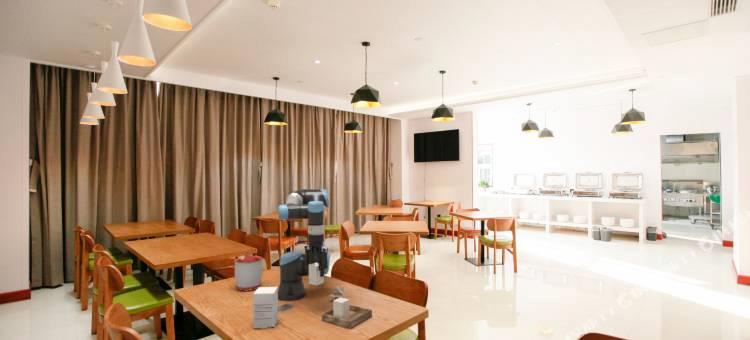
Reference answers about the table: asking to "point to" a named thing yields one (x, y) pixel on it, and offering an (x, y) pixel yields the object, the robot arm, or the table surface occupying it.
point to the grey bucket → (248, 272)
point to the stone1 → (341, 308)
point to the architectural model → (338, 292)
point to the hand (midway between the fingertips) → (316, 282)
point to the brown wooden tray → (355, 315)
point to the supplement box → (265, 307)
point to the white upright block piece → (314, 274)
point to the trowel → (285, 307)
